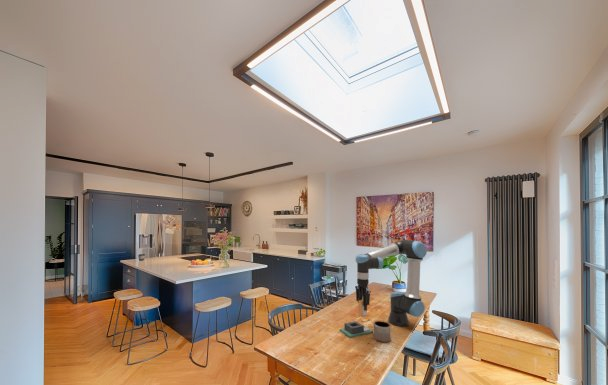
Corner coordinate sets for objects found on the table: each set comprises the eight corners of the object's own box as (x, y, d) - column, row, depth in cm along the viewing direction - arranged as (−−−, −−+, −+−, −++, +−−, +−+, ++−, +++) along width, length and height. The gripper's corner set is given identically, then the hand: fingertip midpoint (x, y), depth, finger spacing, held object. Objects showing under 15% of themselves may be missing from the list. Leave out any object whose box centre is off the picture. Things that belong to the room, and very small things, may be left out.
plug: (363, 314, 173) (363, 299, 174) (366, 316, 171) (366, 300, 172) (358, 315, 171) (358, 300, 172) (361, 317, 169) (361, 301, 170)
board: (361, 326, 190) (362, 319, 191) (372, 333, 180) (372, 325, 180) (339, 330, 182) (339, 323, 182) (349, 338, 171) (349, 329, 172)
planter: (379, 343, 165) (379, 328, 166) (370, 335, 175) (370, 321, 176) (393, 341, 168) (393, 326, 169) (384, 334, 178) (384, 320, 179)
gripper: (351, 276, 179) (350, 310, 177) (366, 281, 165) (366, 319, 162) (359, 275, 182) (359, 309, 180) (375, 280, 168) (375, 317, 166)
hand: (362, 314), depth 171 cm, fingers closed on plug, 3 cm apart
